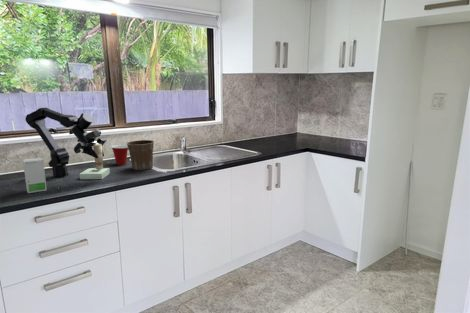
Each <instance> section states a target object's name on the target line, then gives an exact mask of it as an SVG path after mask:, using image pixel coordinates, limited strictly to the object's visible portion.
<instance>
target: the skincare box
mask: <svg viewBox="0 0 470 313" xmlns="http://www.w3.org/2000/svg"><path fill="white" fill-rule="evenodd" d="M22 163H23V164H22V165H23V170H24V171H23V172H24V178H25V180H24V182H25V187H26V188H25V189H26V191H27V193H28V194H31V193H39V192H45V191H48V190H47V179H46V172H45V165H44V159H43V158H42V157H38V158H36V157H35V158H26V159H25V158H24V159H22Z"/></svg>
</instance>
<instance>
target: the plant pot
mask: <svg viewBox="0 0 470 313" xmlns="http://www.w3.org/2000/svg"><path fill="white" fill-rule="evenodd" d="M154 143H155V141H154V140H151V139H140V140H132V141H128V142H126V146H128V152H129V156H130V164H131V168H132V169H133V170H135V171H144V170H150V169H152V168H153V166H154V160H153V159H154Z"/></svg>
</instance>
